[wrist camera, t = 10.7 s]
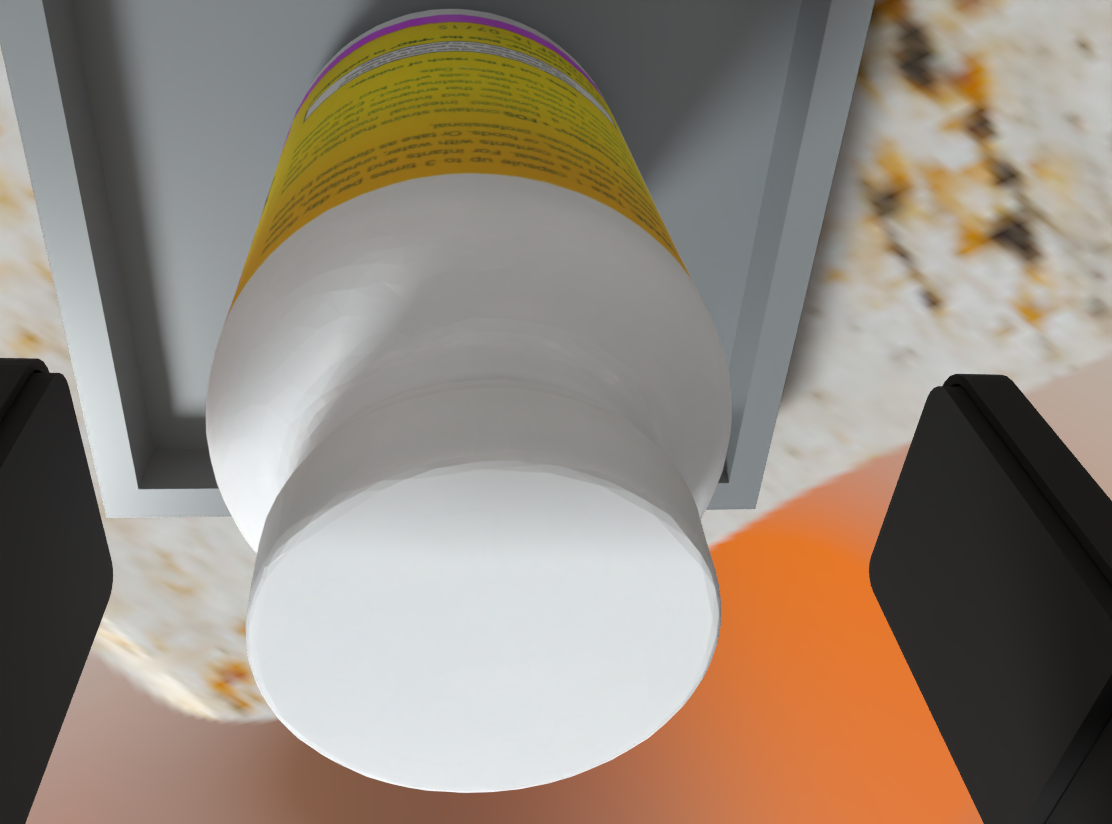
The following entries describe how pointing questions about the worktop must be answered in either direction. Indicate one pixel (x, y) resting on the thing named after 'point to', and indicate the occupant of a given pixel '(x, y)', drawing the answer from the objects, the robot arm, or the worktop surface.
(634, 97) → the charcoal tray
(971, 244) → the worktop surface
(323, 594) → the supplement bottle
